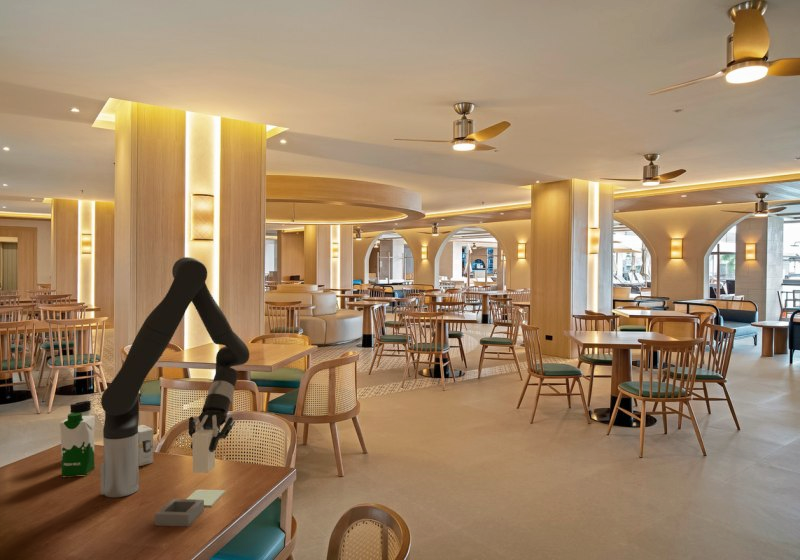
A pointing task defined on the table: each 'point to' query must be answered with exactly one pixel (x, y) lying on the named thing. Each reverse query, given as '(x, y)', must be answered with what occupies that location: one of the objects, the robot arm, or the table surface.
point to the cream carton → (202, 451)
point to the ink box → (145, 445)
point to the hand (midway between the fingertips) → (202, 450)
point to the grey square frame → (179, 512)
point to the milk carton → (77, 444)
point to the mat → (207, 496)
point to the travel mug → (81, 408)
